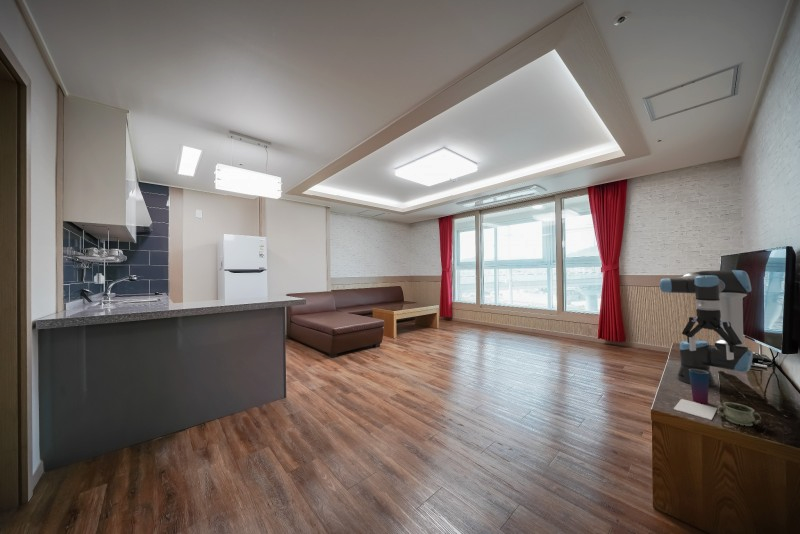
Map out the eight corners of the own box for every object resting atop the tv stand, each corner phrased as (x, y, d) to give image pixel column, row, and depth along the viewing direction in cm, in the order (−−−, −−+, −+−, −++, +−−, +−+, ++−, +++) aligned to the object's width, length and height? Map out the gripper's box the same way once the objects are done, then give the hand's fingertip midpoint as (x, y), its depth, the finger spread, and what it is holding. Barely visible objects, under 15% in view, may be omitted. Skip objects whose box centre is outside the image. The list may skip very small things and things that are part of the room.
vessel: (720, 421, 120) (719, 406, 120) (716, 412, 126) (715, 399, 126) (765, 431, 112) (764, 415, 112) (758, 421, 118) (757, 406, 118)
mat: (681, 399, 139) (681, 398, 139) (717, 408, 129) (717, 408, 129) (673, 409, 130) (673, 408, 130) (711, 420, 120) (711, 419, 120)
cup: (689, 397, 141) (687, 367, 142) (708, 400, 137) (707, 370, 137) (691, 402, 136) (690, 371, 136) (712, 406, 132) (710, 374, 132)
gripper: (670, 306, 139) (673, 348, 139) (738, 313, 115) (741, 364, 115) (682, 304, 141) (685, 346, 141) (752, 312, 116) (755, 362, 116)
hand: (710, 354), depth 128 cm, fingers open, 13 cm apart
